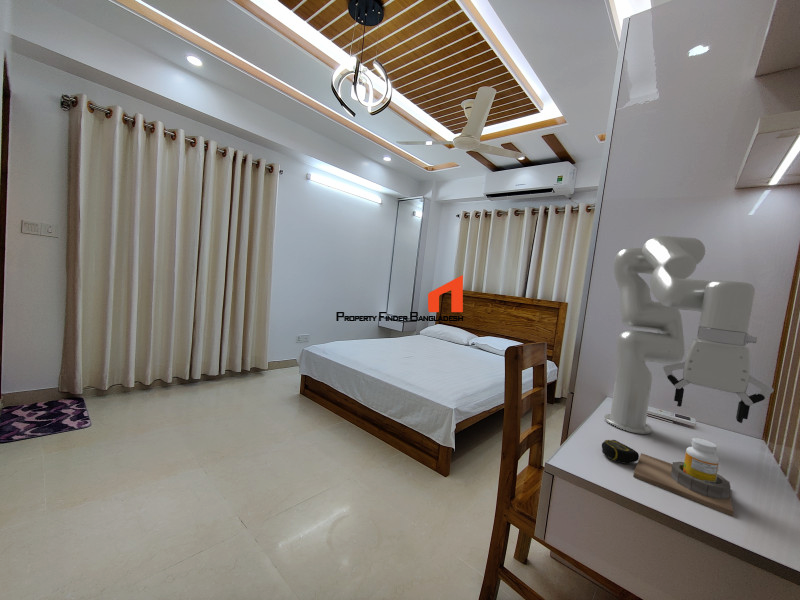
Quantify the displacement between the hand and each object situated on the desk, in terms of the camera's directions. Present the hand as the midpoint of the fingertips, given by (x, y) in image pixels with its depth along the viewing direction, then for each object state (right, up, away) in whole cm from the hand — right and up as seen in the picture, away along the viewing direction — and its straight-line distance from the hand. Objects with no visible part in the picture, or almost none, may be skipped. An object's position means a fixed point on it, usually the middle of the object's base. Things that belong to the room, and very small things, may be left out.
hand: (707, 412), depth 71 cm
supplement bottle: (-2, -17, +1) cm, 17 cm away
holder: (-4, -17, +2) cm, 18 cm away
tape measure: (-12, -16, +11) cm, 23 cm away
